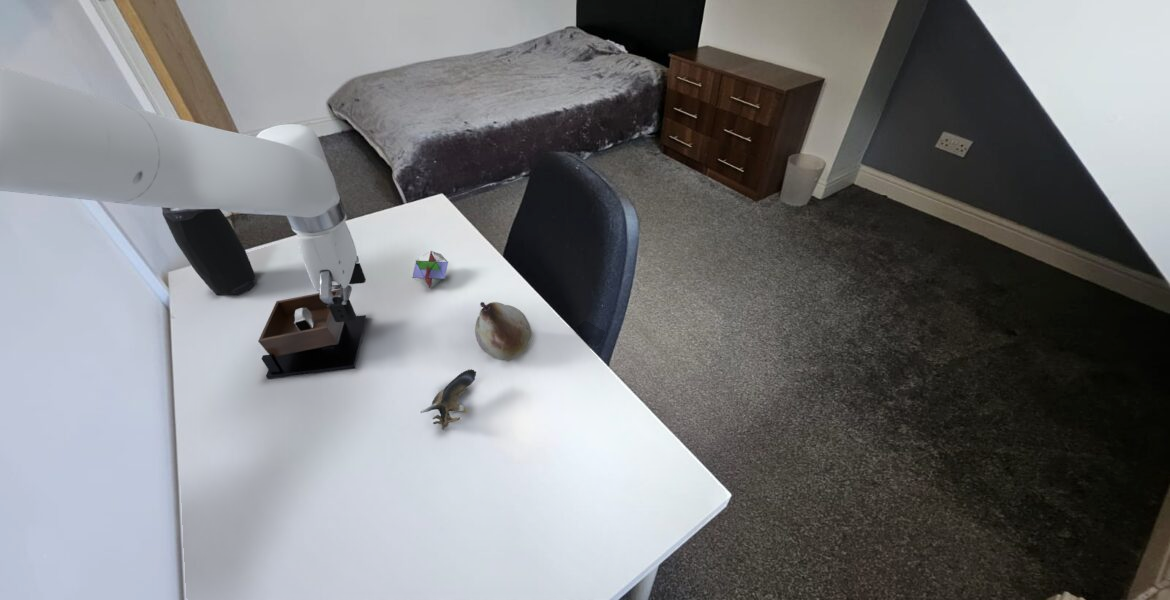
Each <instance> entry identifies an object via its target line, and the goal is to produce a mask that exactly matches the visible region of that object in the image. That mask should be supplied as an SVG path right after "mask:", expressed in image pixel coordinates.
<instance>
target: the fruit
mask: <svg viewBox="0 0 1170 600" xmlns="http://www.w3.org/2000/svg"><path fill="white" fill-rule="evenodd" d="M479 305H480V307H481V309H480V312H479V315H478V317H477V319H476V322H475V327H474V334H475V339H476V342H477V344H478V346H479V347H480V349H481V350H482V351H483V352H484V353H485V354H487V355H488V356H491V357H493V358H494V359H497V360H500V361H505V362H509V361H511V360H513V359H515V358H517V357H519V356H521V355H522V354H523V353H524V352H525V351H526V350H527V348H528V346H529V343H530V342H531V338H532V328H531V325H530V322H529V320H528V318H527V316H526V315H525V313H524V312H522V310H520V309H518V308H517V307H516V306H512V305H509V304H505V303H502V302H497V301H493V302H489V303H487V304H486V303H485V302H483V301H481V302H480V303H479Z"/></svg>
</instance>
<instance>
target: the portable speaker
mask: <svg viewBox="0 0 1170 600" xmlns="http://www.w3.org/2000/svg"><path fill="white" fill-rule="evenodd" d="M161 210H162V217H163V218H164V220H165V222H166V224H167V227H168V229H169V231H170V233H171V235H172V237H173V240H174V241H175V243H176V245H177V247H178V248H179V249H180V251H181V252H182V253H183V255H184V257H185V258H186V260H187V261H188V262H189V264H190V266H191V267H192V268H193V270H194V271H195V273H196V274H197V275H198V276H199V277H200V278H201V280H202V281H203V282H204V283H205V284H206V286H207V287H208V288H209V289H210V290H211V291H212V292H213V293H214V294H215V295H216V296H218V295H221V294H222V295H223V294H231V295H237V296H241V295H242V294H245V293H246V292H248V291H249V290H251V289H252V288H253V287H254V286H255V277H256V274H255V271H254V269H253V267H252V264H251V261H250V258H249V257H248V256H249V255H248V254H247V251H246V249H245V247H244V245H243V244H242V241H241V240H240V238H239V236H238V234H237V232H236V231H235V229H234V228H233V226H232V223H231V222H230V221H229V220H228V218H227V216H226V215H225V214H224V213H223V210H222V209H179V208H164V207H161Z"/></svg>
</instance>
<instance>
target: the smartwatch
mask: <svg viewBox="0 0 1170 600" xmlns="http://www.w3.org/2000/svg"><path fill="white" fill-rule="evenodd" d="M294 324H295V325H296V326H297V328H298V329H299V331H303V330H308V329H313V326H314V322H313V318H312V314H311V312H310V311H309V310H308V309H307V308H306V309H305V308H300V309H297V310H296V311H295V322H294Z"/></svg>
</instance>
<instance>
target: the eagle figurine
mask: <svg viewBox="0 0 1170 600" xmlns="http://www.w3.org/2000/svg"><path fill="white" fill-rule="evenodd" d="M476 376H477V371H476V370H475V369H472V368H471V369H470V368H469V369H467V370H465V371H462V372H460V373H459V374H457V376H455V377H454V379H452V380H451V381H450V382H449V383H448V384H447V385H446V386H445V387H444V388H443V389H442V390H440V391H438V393H436V395H435V396H434V398H433V400H432V401H431V405H430V406H427V407H426V408H423V409H421V410H420V414H425V413H428V412H431V411H434V410H438V412H439V414H440V415H439V414H437V415H435V416H433V417H432V420H435V419H437V420H435V421H433V422H432V424H433V425H437V424H438V425H441V430H442V431H444V430H445V429H446V427H448V426H449V424H450V423H453V422H458V421H460V420H461V417H460V416H458V417H452V416H450V412H464V413H468V410H467V409H466V406H465V405H462V404H459V403H458V400H459V397H460V396H461V395H462V394H463V393H465V392H467V391H468V387H469V386H471V385H472V384H473V383H474V381H476Z"/></svg>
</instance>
